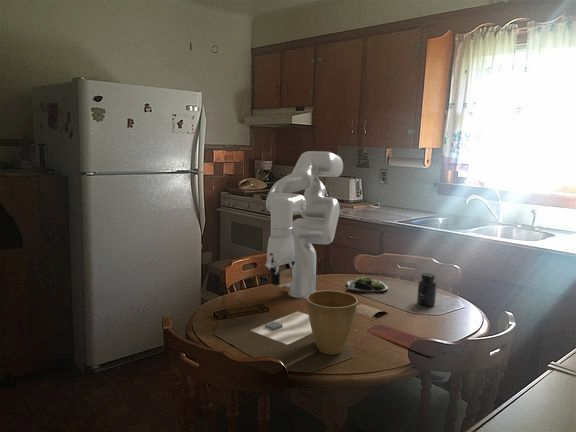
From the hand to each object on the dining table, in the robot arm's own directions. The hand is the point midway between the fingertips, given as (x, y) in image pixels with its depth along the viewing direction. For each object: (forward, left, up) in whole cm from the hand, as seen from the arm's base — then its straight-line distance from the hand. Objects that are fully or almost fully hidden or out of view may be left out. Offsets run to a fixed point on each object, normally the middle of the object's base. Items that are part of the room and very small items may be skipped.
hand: (281, 281), depth 165 cm
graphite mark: (+7, -11, -11) cm, 18 cm away
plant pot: (+29, -10, -13) cm, 34 cm away
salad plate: (+4, +51, -13) cm, 52 cm away
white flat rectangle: (+11, -6, -13) cm, 18 cm away
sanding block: (0, 0, -1) cm, 1 cm away
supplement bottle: (+32, +49, -13) cm, 60 cm away
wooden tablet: (+42, +12, -14) cm, 45 cm away
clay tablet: (+21, +24, -14) cm, 34 cm away
